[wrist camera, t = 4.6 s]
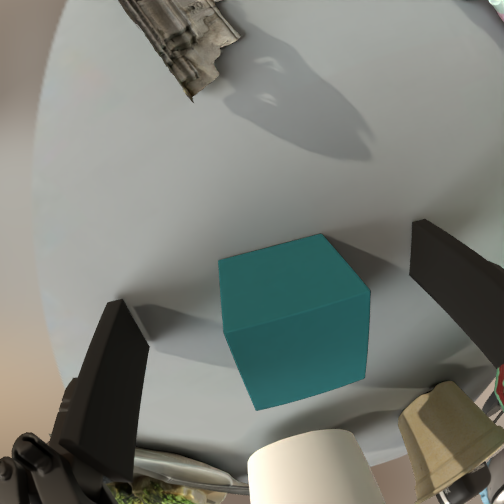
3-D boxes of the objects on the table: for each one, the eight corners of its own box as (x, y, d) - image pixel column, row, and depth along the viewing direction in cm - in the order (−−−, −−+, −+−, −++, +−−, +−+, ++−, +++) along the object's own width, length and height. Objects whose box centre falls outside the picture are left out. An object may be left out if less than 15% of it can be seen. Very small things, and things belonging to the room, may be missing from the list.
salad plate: (286, 439, 18) (299, 493, 13) (241, 499, 25) (245, 530, 21) (26, 402, 14) (8, 451, 9) (81, 479, 21) (77, 510, 17)
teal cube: (329, 313, 13) (365, 378, 9) (243, 337, 12) (256, 411, 9) (321, 232, 11) (371, 290, 7) (217, 259, 11) (223, 333, 7)
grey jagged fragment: (86, -34, 4) (174, -82, 3) (110, -7, 6) (182, -47, 5) (183, 94, 6) (291, 35, 5) (195, 106, 8) (276, 59, 8)
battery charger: (459, 411, 23) (500, 478, 12) (438, 432, 24) (473, 498, 13) (428, 414, 21) (474, 496, 11) (405, 436, 22) (442, 516, 12)
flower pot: (400, 388, 17) (453, 483, 9) (481, 351, 18) (532, 417, 10) (368, 443, 21) (398, 514, 13) (442, 410, 22) (475, 468, 14)
